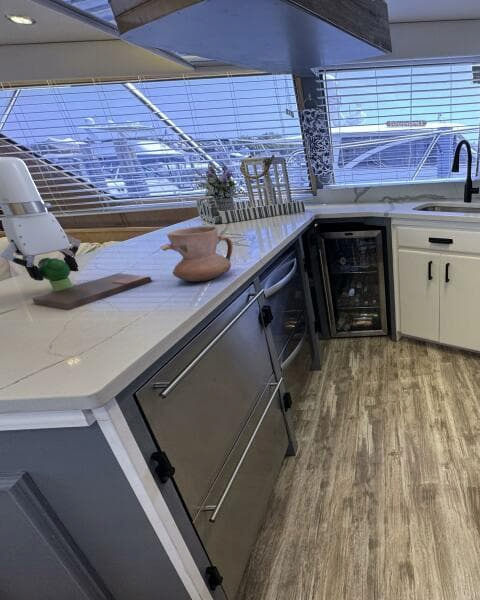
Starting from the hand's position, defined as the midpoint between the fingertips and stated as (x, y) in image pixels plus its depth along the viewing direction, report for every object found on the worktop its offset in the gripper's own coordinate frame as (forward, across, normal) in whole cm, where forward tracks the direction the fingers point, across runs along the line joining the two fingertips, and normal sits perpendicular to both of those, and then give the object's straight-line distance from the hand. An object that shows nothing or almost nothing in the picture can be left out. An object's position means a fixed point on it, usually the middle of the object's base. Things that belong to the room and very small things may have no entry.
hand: (57, 274), depth 89 cm
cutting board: (+4, -1, +13) cm, 14 cm away
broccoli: (+4, 0, 0) cm, 4 cm away
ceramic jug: (+4, -18, +34) cm, 39 cm away
